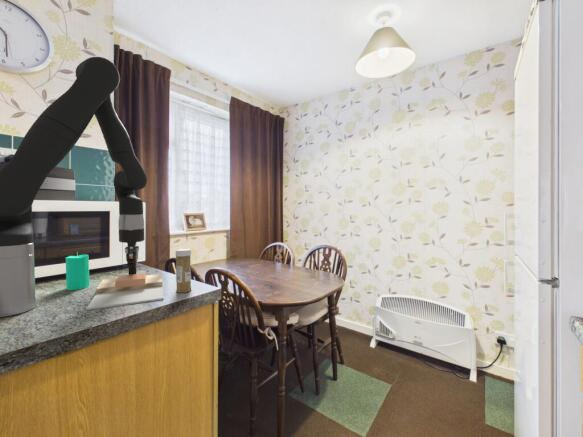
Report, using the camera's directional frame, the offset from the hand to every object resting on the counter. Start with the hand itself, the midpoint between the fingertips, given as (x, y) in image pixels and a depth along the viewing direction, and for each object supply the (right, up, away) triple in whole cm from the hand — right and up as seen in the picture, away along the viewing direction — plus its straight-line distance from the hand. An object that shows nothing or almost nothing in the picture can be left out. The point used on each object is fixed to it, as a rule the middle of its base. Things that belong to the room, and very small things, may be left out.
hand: (132, 277), depth 90 cm
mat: (+7, -3, -13) cm, 15 cm away
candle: (-16, -3, -3) cm, 17 cm away
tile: (+3, -1, -5) cm, 6 cm away
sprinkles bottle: (+20, -3, -6) cm, 22 cm away
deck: (+1, -3, -2) cm, 3 cm away
